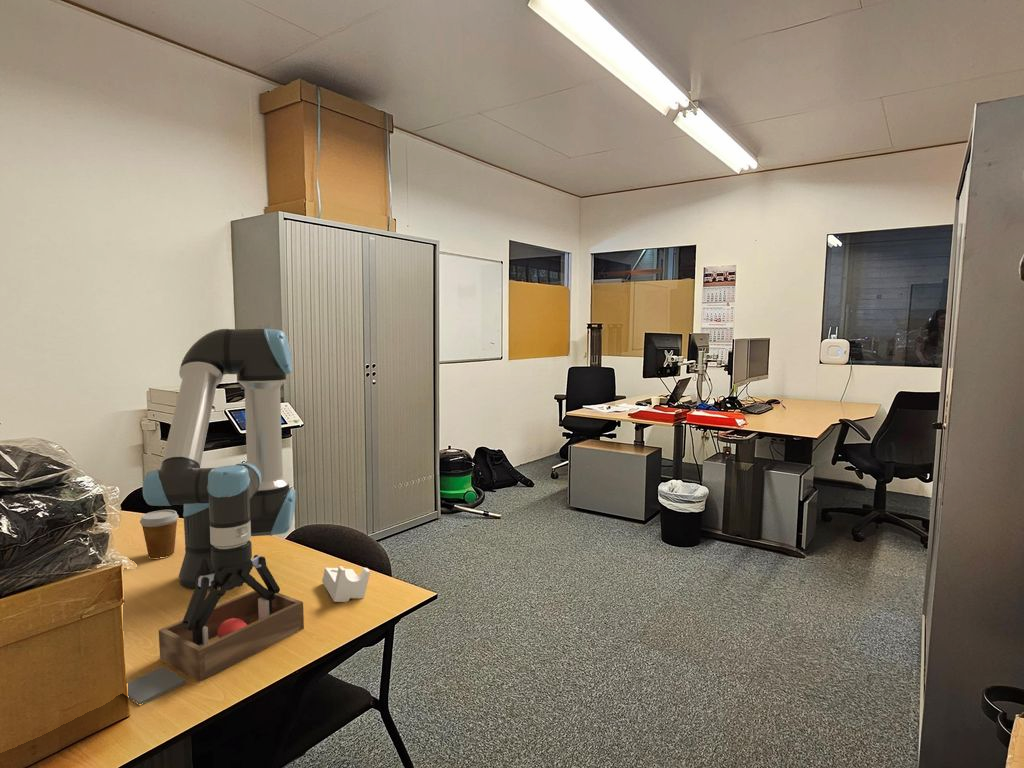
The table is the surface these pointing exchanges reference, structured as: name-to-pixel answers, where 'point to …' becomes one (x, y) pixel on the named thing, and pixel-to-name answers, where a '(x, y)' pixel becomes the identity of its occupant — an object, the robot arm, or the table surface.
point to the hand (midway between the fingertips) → (235, 642)
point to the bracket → (345, 583)
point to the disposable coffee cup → (160, 532)
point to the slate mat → (153, 685)
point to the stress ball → (230, 626)
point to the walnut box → (230, 635)
